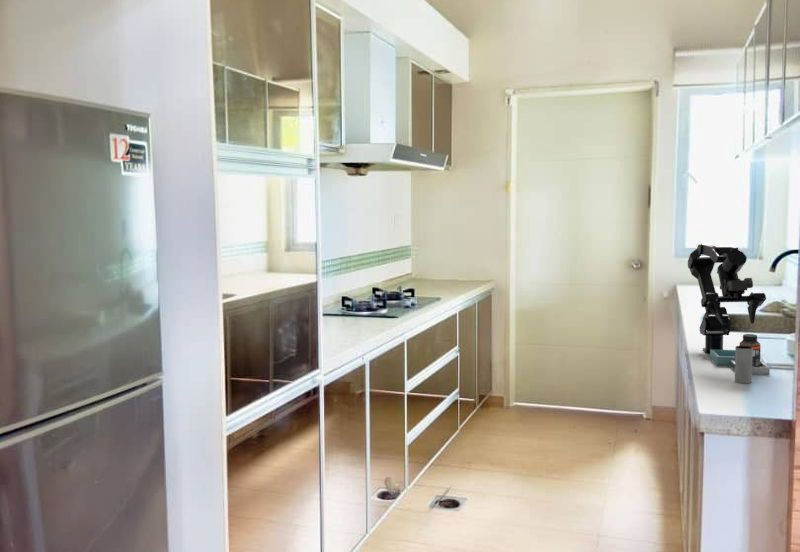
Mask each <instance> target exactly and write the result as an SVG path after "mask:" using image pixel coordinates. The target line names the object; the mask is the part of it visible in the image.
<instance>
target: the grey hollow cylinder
mask: <svg viewBox="0 0 800 552" xmlns="http://www.w3.org/2000/svg"><path fill="white" fill-rule="evenodd" d="M734 350H735V371H734V381H735V383H740V384H751V383H752V382H753V381H752V380H753V374H752V352H753V348H752V347H750V346H739V345H737V346H735V348H734Z"/></svg>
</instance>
